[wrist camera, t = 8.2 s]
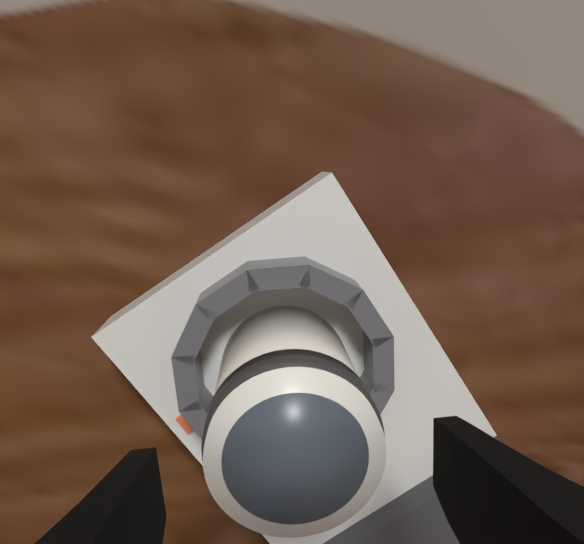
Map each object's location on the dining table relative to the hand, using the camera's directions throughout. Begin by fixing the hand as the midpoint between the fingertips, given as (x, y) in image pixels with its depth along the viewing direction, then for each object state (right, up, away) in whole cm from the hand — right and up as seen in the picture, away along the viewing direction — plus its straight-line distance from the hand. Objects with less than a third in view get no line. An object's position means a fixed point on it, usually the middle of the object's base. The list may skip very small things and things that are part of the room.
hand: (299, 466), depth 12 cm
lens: (0, +1, +7) cm, 7 cm away
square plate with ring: (+2, -1, +10) cm, 10 cm away
